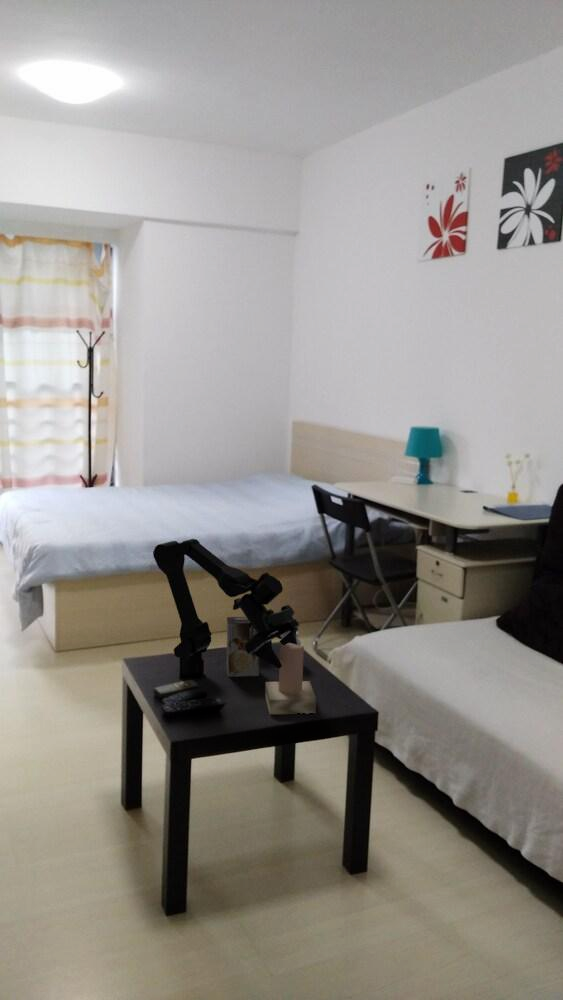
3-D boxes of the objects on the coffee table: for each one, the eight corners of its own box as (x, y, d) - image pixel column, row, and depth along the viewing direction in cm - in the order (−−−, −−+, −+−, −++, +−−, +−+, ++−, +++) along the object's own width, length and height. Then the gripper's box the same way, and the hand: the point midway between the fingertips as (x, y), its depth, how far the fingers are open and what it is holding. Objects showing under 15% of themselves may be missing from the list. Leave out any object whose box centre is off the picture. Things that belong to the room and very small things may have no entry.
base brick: (269, 714, 223) (270, 699, 222) (265, 695, 234) (265, 681, 234) (315, 713, 224) (316, 698, 223) (308, 695, 236) (309, 681, 235)
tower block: (292, 694, 226) (294, 651, 223) (278, 690, 228) (280, 647, 226) (302, 689, 229) (303, 646, 227) (288, 685, 232) (289, 642, 230)
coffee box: (257, 668, 254) (258, 616, 251) (259, 676, 248) (260, 623, 245) (225, 669, 253) (226, 616, 250) (227, 677, 247) (228, 623, 244)
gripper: (255, 605, 220) (290, 656, 216) (294, 589, 235) (327, 637, 231) (229, 628, 225) (263, 678, 221) (269, 611, 241) (301, 658, 237)
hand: (290, 662), depth 227 cm, fingers open, 9 cm apart
